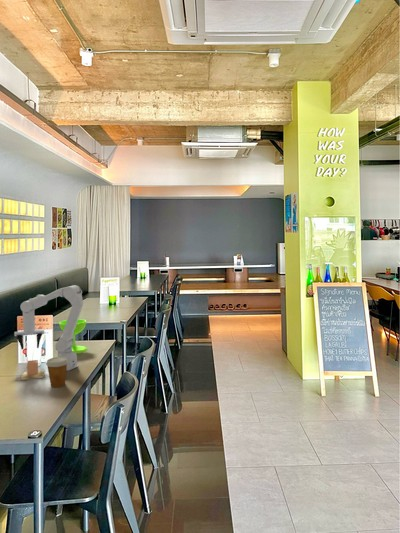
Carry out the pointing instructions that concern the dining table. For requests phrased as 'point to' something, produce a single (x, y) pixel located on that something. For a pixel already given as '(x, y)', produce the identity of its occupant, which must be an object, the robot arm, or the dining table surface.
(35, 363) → the terracotta block
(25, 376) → the birch board
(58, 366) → the disposable coffee cup
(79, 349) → the wineglass
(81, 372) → the dining table surface
